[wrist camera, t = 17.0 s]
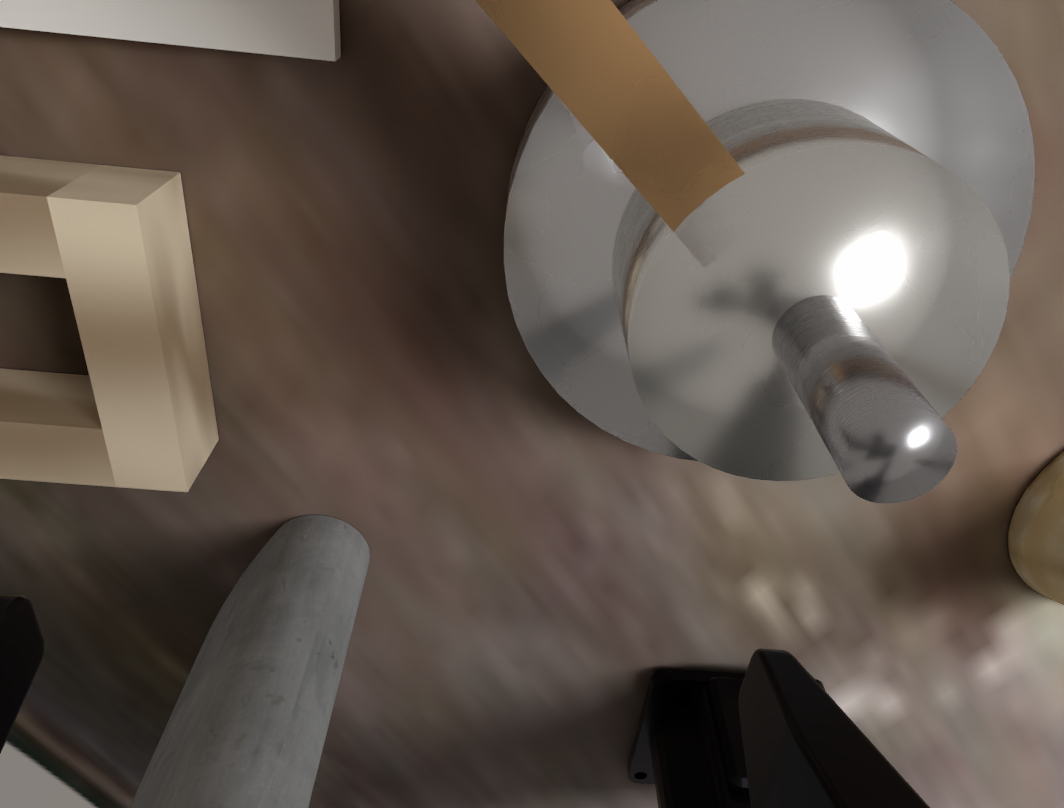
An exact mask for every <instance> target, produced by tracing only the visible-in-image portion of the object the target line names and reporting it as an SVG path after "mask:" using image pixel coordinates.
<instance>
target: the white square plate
mask: <svg viewBox="0 0 1064 808" xmlns="http://www.w3.org/2000/svg"><path fill="white" fill-rule="evenodd" d="M0 27H6V28H15V29H25V30H35V31H44V32H54V33H64V34H74V35H83V36H93V37H103V38H112V39H122V40H132V41H142V42H151V43H161V44H171V45H180V46H190V47H200V48H210V49H219V50H229V51H239V52H248V53H258V54H268V55H278V56H287V57H297V58H307V59H316V60H326V61H336V60H338V59H339V58H340V57H341V45H340V14H339V0H0Z"/></svg>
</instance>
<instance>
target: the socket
mask: <svg viewBox="0 0 1064 808" xmlns="http://www.w3.org/2000/svg"><path fill="white" fill-rule="evenodd" d="M0 273H11V274H22V275H34V276H45V277H57V278H66V280H67V284H68V289H69V293H70V297H71V301H72V305H73V309H74V314H75V318H76V322H77V326H78V330H79V334H80V338H81V343H82V347H83V351H84V355H85V359H86V363H87V368H88V372H89V375H76V374H64V373H52V372H39V371H27V370H14V369H2V368H0V479H13V480H27V481H41V482H54V483H68V484H81V485H95V486H109V487H122V488H136V489H149V490H163V491H177V492H188V491H189V489H190V487H191V486H192V484H193V482H194V481H195V479H196V477H197V476H198V474H199V472H200V471H201V469H202V467H203V465H204V464H205V462H206V460H207V459H208V457H209V455H210V454H211V452H212V450H213V449H214V447H215V445H216V443H217V442H218V440H219V438H218V431H217V424H216V417H215V410H214V403H213V396H212V389H211V382H210V375H209V368H208V362H207V355H206V348H205V341H204V334H203V327H202V320H201V313H200V306H199V299H198V292H197V286H196V279H195V272H194V265H193V258H192V251H191V244H190V237H189V230H188V223H187V216H186V210H185V203H184V196H183V189H182V182H181V175H180V172H171V171H160V170H150V169H139V168H129V167H118V166H107V165H97V164H86V163H76V162H65V161H55V160H44V159H33V158H23V157H12V156H2V155H0Z"/></svg>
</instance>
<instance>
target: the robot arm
mask: <svg viewBox="0 0 1064 808" xmlns="http://www.w3.org/2000/svg"><path fill="white" fill-rule="evenodd" d="M43 653H44V640H43V637H42V634H41V631H40V628H39V625H38V622H37V619H36V616H35V613H34V610H33V606H32V604H31V602H30V600H29V599H28V598H27V597H25V596H22V595H13V594H0V753H1V751H2V749H3V746H4V744H5V742H6V740H7V737H8V735H9V733H10V731H11V728H12V726H13V724H14V722H15V719H16V717H17V715H18V713H19V710H20V708H21V706H22V704H23V701H24V699H25V697H26V695H27V692H28V690H29V688H30V686H31V683H32V681H33V679H34V677H35V674H36V672H37V670H38V668H39V665H40V663H41V660H42V657H43ZM627 768H628V777H629V779H630V780H631V781H633V782H636V783H648V784H655V787H656V794H657V801H658V808H930V807H929V806H928V805H927V804H926V803H925V802H924V800H923V799H922V798H921V797H920V796H919V795H918V794H917V793H916V792H915V790H914V789H913V788H912V787H911V786H910V785H909V784H908V783H907V782H906V780H905V779H904V778H903V777H902V776H901V775H900V774H899V773H898V772H897V770H896V769H895V768H894V767H893V766H892V765H891V764H890V763H889V762H888V760H887V759H886V758H885V757H884V756H883V755H882V754H881V753H880V752H879V750H878V749H877V748H876V747H875V746H874V745H873V744H872V743H871V742H870V740H869V739H868V738H867V737H866V736H865V735H864V734H863V733H862V732H861V730H860V729H859V728H858V727H857V726H856V725H855V724H854V723H853V722H852V720H851V719H850V718H849V717H848V716H847V715H846V714H845V713H844V712H843V710H842V709H841V708H840V707H839V706H838V705H837V704H836V703H835V702H834V700H833V699H832V698H831V697H830V696H829V695H828V694H827V693H826V691H825V689H824V686H823V684H822V682H820V681H819V680H816V679H814V678H813V677H812V676H811V675H810V674H809V673H808V672H807V671H806V669H805V668H804V667H803V666H802V665H801V664H800V663H799V662H798V661H797V659H796V658H795V657H794V656H793V655H792V654H790V653H789V652H787V651H784V650H772V649H757V650H756V651H755V652H754V653H753V655H752V657H751V660H750V663H749V666H748V669H747V672H746V675H742V674H726V673H710V672H694V671H679V670H661V671H658V672H656V673H655V674H653V676H652V678H651V681H650V685H649V688H648V692H647V696H646V699H645V703H644V707H643V710H642V714H641V718H640V721H639V725H638V729H637V732H636V736H635V740H634V744H633V747H632V751H631V755H630V758H629V762H628V766H627Z"/></svg>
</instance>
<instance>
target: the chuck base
mask: <svg viewBox="0 0 1064 808" xmlns="http://www.w3.org/2000/svg"><path fill="white" fill-rule="evenodd" d="M619 11H620V12H621V14H622V15H623V16H624V18H625V19H626V20H627V22H628V23H629V24H630V25H631V27H632V28H633V29H634V31H635V32H636V33H637V34H638V36H639V37H640V38H641V40H642V41H643V42H644V44H645V45H646V46H647V47H648V49H649V50H650V51H651V53H652V54H653V55H654V56H655V58H656V59H657V60H658V62H659V63H660V64H661V66H662V67H663V68H664V69H665V71H666V72H667V73H668V75H669V76H670V77H671V79H672V80H673V81H674V82H675V84H676V85H677V86H678V88H679V89H680V90H681V91H682V93H683V94H684V95H685V97H686V98H687V99H688V101H689V102H690V103H691V104H692V106H693V107H694V108H695V110H696V111H697V112H698V113H699V115H700V116H701V117H702V119H703V120H704V121H705V122H707V121H708V120H710V119H712V118H714V117H716V116H719V115H721V114H723V113H726V112H728V111H730V110H733V109H736V108H739V107H743V106H746V105H749V104H753V103H758V102H764V101H770V100H776V99H806V100H815V101H822V102H826V103H830V104H833V105H837V106H841V107H843V108H846V109H848V110H850V111H853V112H855V113H857V114H859V115H861V116H863V117H865V118H866V119H868V120H869V121H871V122H873V123H874V124H876V125H877V126H879V127H881V128H882V129H884V130H886V131H887V132H889V133H890V134H892V135H894V136H895V137H897V138H898V139H900V140H902V141H903V142H905V143H906V144H908V145H910V146H911V147H913V148H914V149H916V150H918V151H919V152H921V153H923V154H924V155H926V156H927V157H929V158H931V159H932V160H934V161H935V162H937V163H939V164H940V165H942V166H943V167H945V168H946V169H948V170H949V171H951V172H953V173H954V174H956V175H957V176H959V177H960V178H961V179H962V180H963V181H965V182H966V183H967V184H968V185H969V186H970V187H971V188H972V189H973V190H974V191H975V192H976V193H977V194H978V195H979V196H980V198H981V199H982V200H983V202H984V203H985V204H986V206H987V207H988V208H989V210H990V211H991V213H992V215H993V217H994V219H995V221H996V223H997V225H998V227H999V229H1000V231H1001V234H1002V237H1003V240H1004V244H1005V247H1006V250H1007V255H1008V263H1009V272H1010V279H1011V276H1012V274H1013V271H1014V268H1015V266H1016V263H1017V261H1018V258H1019V255H1020V253H1021V250H1022V248H1023V244H1024V240H1025V236H1026V232H1027V228H1028V224H1029V220H1030V216H1031V211H1032V202H1033V193H1034V184H1035V164H1034V143H1033V138H1032V133H1031V127H1030V122H1029V117H1028V111H1027V109H1026V106H1025V103H1024V100H1023V98H1022V95H1021V92H1020V89H1019V87H1018V84H1017V81H1016V79H1015V77H1014V75H1013V73H1012V72H1011V70H1010V68H1009V66H1008V65H1007V63H1006V61H1005V59H1004V58H1003V56H1002V54H1001V52H1000V51H999V49H998V48H997V47H996V45H995V44H994V43H993V42H992V41H991V39H990V38H989V37H988V36H987V34H986V33H985V32H984V31H983V30H982V28H981V27H980V26H979V25H978V24H977V22H976V21H974V20H973V19H972V18H971V17H970V16H968V15H967V14H966V13H965V12H964V11H963V10H961V9H960V8H959V7H958V6H957V5H955V4H954V3H953V2H952V1H951V0H631V1H629V2H628V3H627V4H625V5H624V6H623V7H622V8H620V9H619ZM635 189H636V188H635V186H634V185H633V184H632V183H631V182H630V181H629V179H628V178H627V177H626V176H625V175H624V174H623V172H622V171H621V170H620V169H619V168H618V167H617V165H616V164H615V163H614V162H613V161H612V160H611V158H610V157H609V156H608V155H607V154H606V153H605V151H604V150H603V149H602V148H601V147H600V146H599V144H598V143H597V142H596V141H595V140H594V139H593V137H592V136H591V135H590V134H589V133H588V132H587V130H586V129H585V128H584V127H583V126H582V124H581V123H580V122H579V121H578V120H577V119H576V117H575V116H574V115H573V114H572V113H571V112H570V110H569V109H568V108H567V107H566V106H565V105H564V103H563V102H562V101H561V100H560V99H559V98H558V96H557V95H556V94H555V93H554V92H553V91H552V89H551V88H550V87H549V86H547V87H546V89H545V91H544V93H543V94H542V96H541V98H540V99H539V101H538V103H537V104H536V106H535V108H534V110H533V112H532V114H531V116H530V119H529V121H528V123H527V126H526V128H525V130H524V133H523V135H522V137H521V140H520V143H519V146H518V150H517V153H516V157H515V160H514V164H513V167H512V171H511V176H510V183H509V190H508V196H507V203H506V215H505V227H504V269H505V277H506V285H507V293H508V297H509V301H510V305H511V308H512V312H513V316H514V319H515V323H516V325H517V328H518V330H519V332H520V334H521V337H522V339H523V341H524V344H525V346H526V348H527V350H528V352H529V354H530V355H531V357H532V358H533V360H534V362H535V363H536V365H537V367H538V368H539V370H540V372H541V373H542V374H543V376H544V377H545V378H546V379H547V381H548V382H549V383H550V384H551V385H552V387H553V388H554V389H555V390H556V391H557V393H558V394H559V395H560V396H561V397H562V398H563V399H564V400H565V401H566V402H568V403H569V404H570V405H571V406H572V407H573V408H574V409H575V410H576V411H577V412H578V413H580V414H581V415H582V416H584V417H585V418H587V419H588V420H589V421H591V422H592V423H594V424H595V425H597V426H598V427H599V428H601V429H602V430H604V431H606V432H608V433H610V434H612V435H614V436H616V437H618V438H620V439H621V440H623V441H625V442H628V443H630V444H633V445H636V446H638V447H641V448H643V449H646V450H649V451H651V452H655V453H659V454H663V455H667V456H671V457H675V458H680V459H688V460H695V461H698V460H696V459H695V458H693V457H692V456H690V455H689V454H687V453H685V452H684V451H682V450H681V449H680V448H679V447H677V446H676V445H675V444H674V443H673V442H672V441H670V440H669V439H668V438H667V437H666V436H665V435H664V434H663V432H662V431H661V430H660V429H659V428H658V427H657V426H656V424H655V423H654V422H653V420H652V419H651V417H650V415H649V414H648V412H647V411H646V409H645V407H644V406H643V403H642V401H641V399H640V396H639V394H638V392H637V389H636V386H635V382H634V378H633V374H632V371H631V366H630V362H629V357H628V352H627V348H626V343H625V339H624V334H623V329H622V325H621V320H620V316H619V311H618V307H617V302H616V297H615V293H614V286H613V276H612V261H613V249H614V244H615V238H616V233H617V230H618V227H619V224H620V220H621V217H622V214H623V212H624V210H625V208H626V206H627V204H628V201H629V199H630V197H631V195H632V194H633V192H634V190H635Z"/></svg>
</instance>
